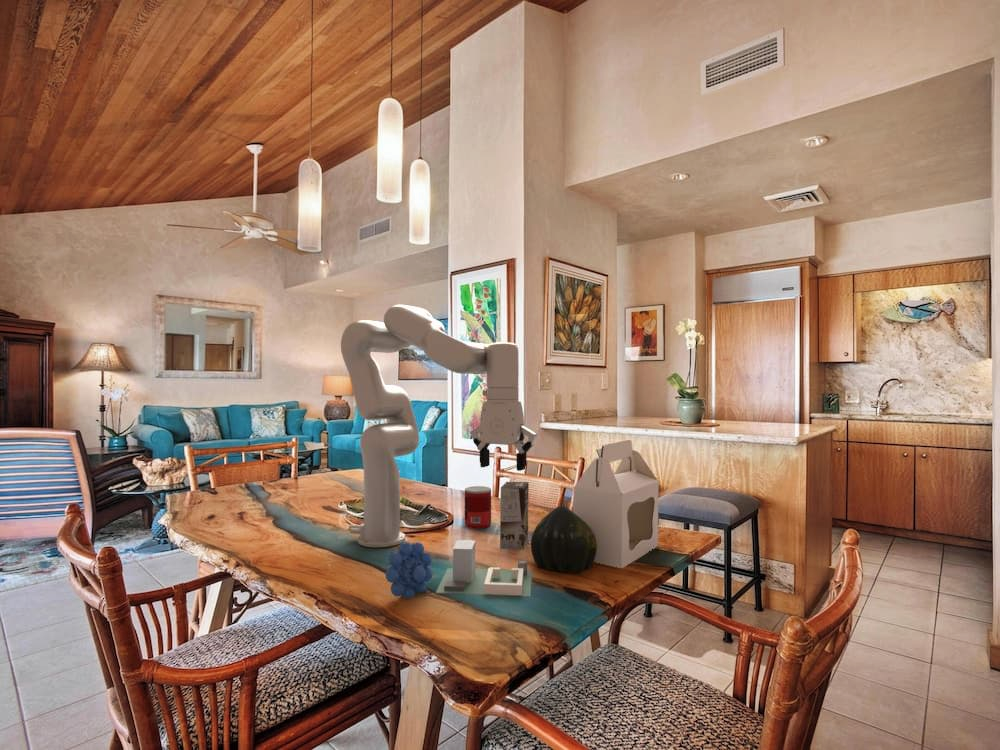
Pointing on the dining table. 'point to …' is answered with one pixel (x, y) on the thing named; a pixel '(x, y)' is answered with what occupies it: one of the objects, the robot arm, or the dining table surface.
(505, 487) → the coffee box
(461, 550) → the plug
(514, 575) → the frame
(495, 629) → the dining table surface
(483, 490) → the canned food
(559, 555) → the squash
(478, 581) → the board
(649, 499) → the gable box
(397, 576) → the grapes
